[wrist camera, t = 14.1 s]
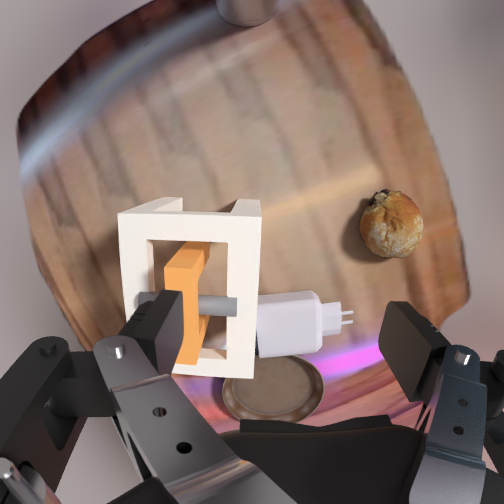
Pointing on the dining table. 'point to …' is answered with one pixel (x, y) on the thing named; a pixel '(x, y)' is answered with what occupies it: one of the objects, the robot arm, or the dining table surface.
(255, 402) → the plant saucer
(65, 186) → the dining table surface
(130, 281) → the white square table frame
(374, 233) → the bread roll
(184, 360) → the orange arch block
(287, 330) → the charger
